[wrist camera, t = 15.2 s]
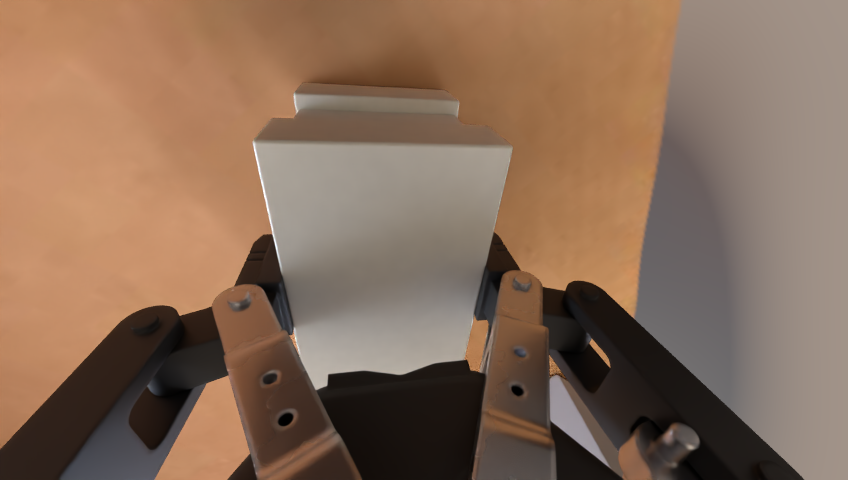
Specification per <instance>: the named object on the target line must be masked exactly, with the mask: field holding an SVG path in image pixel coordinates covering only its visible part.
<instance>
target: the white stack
mask: <svg viewBox="0 0 848 480" xmlns="http://www.w3.org/2000/svg"><path fill="white" fill-rule="evenodd" d="M294 102H295V109H296V115H295V117H294V118H293V119H321V120H350V121H379V122H409V123H438V124H463V123H462V122H461V121H460V120H459V119H458V118H457V117H458V109H459V101H458V100H457V99H456V98H455V97H454V96H452V95H451V94H450V93H449V92H448V91H446V90H433V89H415V88H396V87H377V86H359V85H340V84H321V83H302V84H301V85H300V86H299V88H298V89H297V90H296V91H295V93H294Z"/></svg>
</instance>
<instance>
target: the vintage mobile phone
mask: <svg viewBox="0 0 848 480" xmlns="http://www.w3.org/2000/svg"><path fill="white" fill-rule="evenodd" d="M550 421H552V422H553V423H554V424H555V425H557V426H558V427H559V428H560V429H562V430H563V431H564V432H565V433H567V434H568V435H569V436H570V437H572V438H573V439H574V440H575V441H577V442H578V443H579V444H580V445H582V446H583V447H584V448H585V449H587V450H588V451H589V452H590V453H592V454H593V455H594V456H595V457H597V458H598V459H599V460H600V461H602V462H603V463H604V464H605V465H607V466H608V467H609V468H610V469H612V470H613V471H614V472H615V473H617V474H618V475H619V476H620V477H622V475H623V472H622V470H621V468H620V465H619V461H618V451H617V449H616V448H615V446H614V445H613V444H612V442H611V441H610V439H609V438H608V437H607V435H606V434H605V432H604V431H603V429H602V428H601V427H600V425H599V424H598V422H597V421H596V420H595V418H594V417H593V415H592V414H591V412H590V411H589V410H588V408H587V407H586V405H585V404H584V403H583V401H582V400H581V398H580V397H579V396H578V394H577V393H576V391H575V390H574V388H573V387H572V386H571V384H570V383H569V382H568V381H567V380H565V379H563V378H562V377H560V376H558V375H554V376H553V377H551V378H550Z"/></svg>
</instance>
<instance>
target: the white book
mask: <svg viewBox="0 0 848 480" xmlns="http://www.w3.org/2000/svg"><path fill="white" fill-rule="evenodd" d="M253 147H254V152H255V156H256V161H257V165H258V170H259V175H260V179H261V184H262V188H263V193H264V197H265V202H266V206H267V211H268V215H269V220H270V225H271V229H272V234H273V238H274V243H275V247H276V252H277V256H278V261H279V265H280V270H281V274H282V276H283V280H284V285H285V289H286V294H287V298H288V303H289V308H290V312H291V317H292V321H293V326H294V334H295V338H296V343H297V347H298V352H299V356H300V359H301V361H302V363H303V365H304V367H305V369H306V371H307V373H308V375H309V377H310V379H311V381H312V383H313V386H314V388H315V390H318V389H320V388H322V387H325V386H327V382H328V374H334V373H344V372H353V371H363V370H365V371H373V372H381V373H389V374H396V375H403V374H406V373H409V372H411V371H414V370H417V369H420V368H423V367H425V366H428V365H431V364H434V363H440V362H450V361H459V360H464V357H465V353H466V349H467V344H468V340H469V336H470V332H471V327H472V323H473V319H474V313H475V308H476V304H477V300H478V295H479V291H480V287H481V282H482V278H483V274H484V269H485V265H486V262H487V258H488V254H489V249H490V245H491V241H492V237H493V232H494V228H495V224H496V219H497V215H498V211H499V206H500V202H501V198H502V193H503V189H504V185H505V180H506V176H507V172H508V167H509V163H510V159H511V155H512V150H513V147H512V145H511V144H510V143H508V142H507V141H506V140H505V139H504V138H502V137H501V136H500V135H499V134H498V133H497V132H495V131H494V130H493V129H492V128H491V127H489V126H488V125H467V124H438V123H409V122H379V121H350V120H321V119H291V118H272V119H270V121H269V122H268V123H267V124H266V125H265V127H264V128H263V129H262V130H261V131H260V133H259V134H258V135H257V136H256V137H255V138H254V140H253Z"/></svg>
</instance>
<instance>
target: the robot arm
mask: <svg viewBox="0 0 848 480" xmlns="http://www.w3.org/2000/svg"><path fill="white" fill-rule="evenodd" d="M246 260H247V261H245V264H244V266H243V268H242V270H241V272H240V275H239V277H238V279H237V281H236V284H235V286H234V287H232V288H229V289H227V290H225V291H223V292H222V293H221V294H219V295H218V296H217V297H216V298H215V300H214V301H213V304H212V307H209V308H206V309H203V310H200V311H196V312H192V313H189V314H185V315H181V316H179V314H178V312H177V311H176V310H175V309H174V308H172V307H170V306H163V305H162V306H152V307H148V308H145V309H142V310H139V311H137V312H135V313H133V314H131V315H129V316H128V317H126V318H125V319H124V320H122V321H121V322H120V323H119V324H118V325H117V326H116V327H115V328H114V329H113V330H112V331H111V332H110V333H109V335H108V336H107V337H106V338H105V339H104V340H103V341H102V342H101V343H100V344H99V345H98V346H97V347H96V348H95V349H94V350H93V352H92V353H91V354H90V355H89V356H88V357H87V358H86V359H85V360H84V361H83V362H82V363H81V364H80V365H79V366H78V367H77V369H76V370H75V371H74V372H73V373H72V374H71V375H70V376H69V377H68V378H67V379H66V380H65V381H64V382H63V383H62V384H61V386H60V387H59V388H58V389H57V390H56V391H55V392H54V393H53V394H52V395H51V396H50V397H49V398H48V399H47V400H46V401H45V402H44V404H43V405H42V406H41V407H40V408H39V409H38V410H37V411H36V412H35V413H34V414H33V415H32V416H31V417H30V418H29V419H28V421H27V422H26V423H25V424H24V425H23V426H22V427H21V428H20V429H19V430H18V431H17V432H16V433H15V434H14V435H13V436H12V438H11V439H10V440H9V441H8V442H7V443H6V444H5V445H4V446H3V447H2V448H1V449H0V480H154V479H155V477H156V475H157V474H158V472H159V470H160V468H161V466H162V464H163V463H164V461H165V459H166V457H167V455H168V453H169V452H170V450H171V448H172V446H173V444H174V442H175V441H176V439H177V437H178V435H179V433H180V431H181V430H182V428H183V426H184V424H185V422H186V420H187V419H188V417H189V415H190V413H191V411H192V409H193V408H194V406H195V404H196V402H197V400H198V398H199V397H200V395H201V393H202V391H203V389H204V387H205V385H206V383H208V382H211V381H214V380H217V379H219V378H222V377H225V376H228V375H229V379H230V382H231V386H232V389H233V393H234V397H235V400H236V404H237V407H238V411H239V415H240V418H241V422H242V425H243V429H244V433H245V436H246V440H247V443H248V447H249V450H250V454H249V455H248V457H247V458H246V459H245V460H244V461H243V462H242V463H241V465H240V466H239V467H238V468H237V469H236V470H235V471H234V473H233V474H232V475H231V476H230V477H229V478H228V479H227V480H804V479H803V478H802V477H801V476H800V475H799V474H798V473H797V472H796V471H795V470H794V469H793V468H792V467H791V466H790V465H789V464H788V463H787V462H786V461H785V460H784V459H783V458H782V457H781V456H779V455H778V454H777V453H776V452H775V451H774V450H773V449H772V448H771V447H770V446H769V445H768V444H767V443H766V442H764V441H763V440H762V439H761V438H760V437H759V436H758V435H757V434H756V433H755V432H754V431H753V430H752V429H751V428H750V427H749V426H748V425H746V424H745V423H744V422H743V421H742V420H741V419H740V418H739V417H738V416H737V415H736V414H735V413H734V412H733V411H731V410H730V409H729V408H728V407H727V406H726V405H725V404H724V403H723V402H722V401H721V400H720V399H719V398H718V397H717V396H716V395H714V394H713V393H712V392H711V391H710V390H709V389H708V388H707V387H706V386H705V385H704V384H703V383H702V382H701V381H700V380H698V379H697V378H696V377H695V376H694V375H693V374H692V373H691V372H690V371H689V370H688V369H687V368H686V367H685V366H683V364H682V363H680V362H679V361H678V360H677V359H676V358H675V357H674V356H673V355H672V354H671V353H670V352H669V351H668V350H666V348H664V347H663V346H662V345H661V344H660V343H659V342H658V341H657V340H656V339H655V338H654V337H653V336H652V335H651V334H650V333H648V332H647V331H646V330H645V329H644V328H643V327H642V326H641V325H640V324H639V323H638V322H637V321H636V320H635V319H634V318H633V317H631V316H630V315H629V314H628V313H627V312H626V311H625V310H624V309H623V308H622V307H621V306H620V305H619V304H618V303H617V302H615V301H614V300H613V299H612V298H611V297H610V296H609V295H608V294H607V293H606V292H605V291H604V290H602V289H601V288H600V287H598V286H596V285H594V284H592V283H589V282H585V281H573V282H571V283H569V284H568V285H567V288H566V290H565V291H562V290H556V289H550V288H545V287H543V286H542V284H541V282H540V281H539V280H538V279H537V278H536V277H535V276H534V275H532V274H530V273H527V272H524V271H521V270H520V268H519V267H518V265H517V264H516V262H515V261H514V259H513V258H512V256H511V254H510V253H509V251H507V248H506V247H505V245H503V242H502V240H501V239H500V237H499V236H498V235H497V234H496V233H494V232H493V237H492V241H491V245H490V249H489V254H488V258H487V262H486V265H485V269H484V274H483V278H482V282H481V287H480V291H479V295H478V300H477V304H476V308H475V313H474V314H475V317H476V319H477V320H487V321H488V323H489V326H488V330H487V335H486V340H485V345H484V350H483V356H482V361H481V366H480V371H479V372H477V371H471V370H470V367H469V364H468V361H467V360H459V361H450V362H440V363H434V364H431V365H428V366H425V367H423V368H420V369H417V370H414V371H411V372H409V373H406V374H403V375H396V374H389V373H381V372H373V371H365V370H363V371H353V372H344V373H334V374H328V382H327V386H325V387H322V388H320V389H318V390H315V388H314V386H313V383H312V381H311V379H310V377H309V375H308V373H307V371H306V369H305V367H304V365H303V363H302V361H301V359H300V357H299V355H298V353H297V351H296V349H295V347H294V345H293V343H292V340H291V338H290V336H289V335H292V334H293V329H294V326H293V321H292V317H291V312H290V308H289V303H288V298H287V294H286V289H285V285H284V280H283V276H282V274H281V270H280V265H279V261H278V256H277V252H276V247H275V243H274V238H273V234H267V235H263V236H261V237H260V238H259V239H258V240H257V241H255V242H254V244H253V246H252V248H251V250H250V254H249V255H248V257H247V259H246ZM591 339H593V340H594V341H595V342H596V344H597V345H598V346H599V347H600V348H601V349H602V350H603V352H604V353H605V354H606V355H607V357H608V359H609V361H610V366H611V367H610V368H609V366H608V365H607V364H606V363H605V362H604V361H603V359H602V358H601V357H600V356H599V355H598V354H597V352H596V351H595V350H594V349H593V348H592V346H591V345H590V344H589V343H590V341H591ZM549 355H550V356H551V357H552V359H553V360H554V362H555V363H556V364H557V366H558V367H559V369H560V370H561V372H562V373H563V374H564V376H565V377H566V379H567V380H568V381H569V383H570V384H571V386H572V387H573V388H574V390H575V391H576V393H577V394H578V396H579V397H580V398H581V400H582V401H583V403H584V404H585V405H586V407H587V408H588V410H589V411H590V412H591V414H592V415H593V417H594V418H595V420H596V421H597V422H598V424H599V425H600V427H601V428H602V429H603V431H604V432H605V434H606V435H607V437H608V438H609V439H610V441H611V442H612V444H613V445H614V446H615V448H616V449H617V451H618V461H619V465H620V468H621V470H622V472H623V475H622V477H620V476H619V475H618V474H617V473H615V472H614V471H613V470H612V469H610V468H609V467H608V466H607V465H605V464H604V463H603V462H602V461H600V460H599V459H598V458H597V457H595V456H594V455H593V454H592V453H590V452H589V451H588V450H587V449H585V448H584V447H583V446H582V445H580V444H579V443H578V442H577V441H575V440H574V439H573V438H572V437H570V436H569V435H568V434H567V433H565V432H564V431H563V430H562V429H560V428H559V427H558V426H557V425H555V424H554V423H553V422H552V421H550V375H549Z"/></svg>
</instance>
